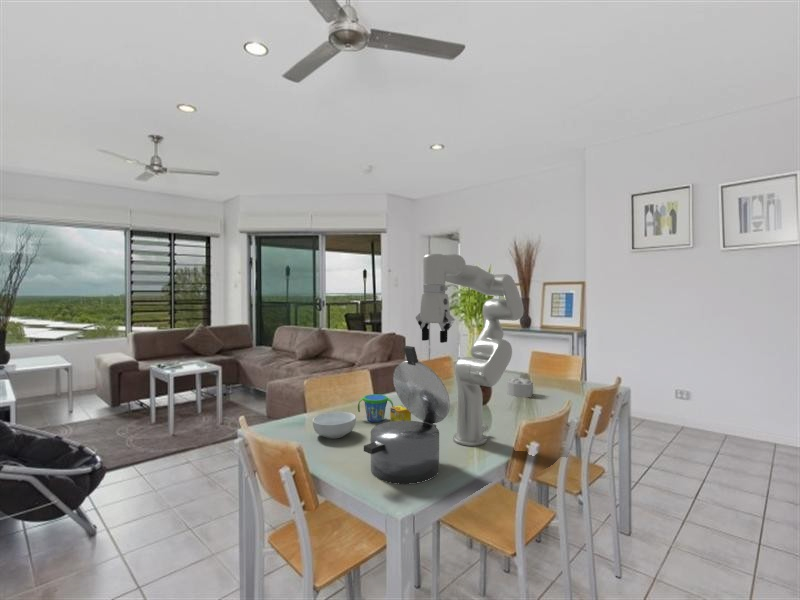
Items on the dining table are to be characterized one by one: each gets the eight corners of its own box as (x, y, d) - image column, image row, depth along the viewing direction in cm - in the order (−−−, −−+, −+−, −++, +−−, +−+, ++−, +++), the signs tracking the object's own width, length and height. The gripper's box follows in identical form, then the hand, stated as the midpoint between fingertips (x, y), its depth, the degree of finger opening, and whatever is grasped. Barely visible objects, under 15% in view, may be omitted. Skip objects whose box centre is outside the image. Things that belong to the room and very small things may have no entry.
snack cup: (395, 417, 188) (395, 394, 188) (390, 424, 178) (390, 400, 177) (361, 415, 191) (361, 393, 190) (355, 422, 180) (355, 399, 180)
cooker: (407, 448, 152) (407, 415, 151) (456, 465, 137) (456, 429, 136) (344, 473, 131) (344, 435, 131) (394, 498, 116) (394, 455, 115)
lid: (402, 416, 151) (407, 412, 152) (454, 431, 135) (459, 426, 136) (382, 344, 143) (388, 341, 144) (435, 352, 127) (440, 348, 129)
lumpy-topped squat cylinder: (529, 398, 219) (529, 382, 219) (504, 395, 225) (504, 379, 225) (534, 394, 228) (534, 378, 228) (510, 391, 234) (510, 375, 234)
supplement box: (390, 434, 166) (389, 407, 165) (401, 431, 169) (401, 404, 169) (399, 438, 161) (399, 410, 161) (411, 435, 165) (411, 407, 165)
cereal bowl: (336, 425, 177) (336, 408, 177) (364, 433, 167) (364, 416, 166) (303, 436, 164) (303, 418, 164) (332, 446, 154) (332, 427, 153)
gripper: (461, 290, 141) (461, 342, 141) (422, 289, 153) (422, 338, 153) (448, 290, 135) (448, 344, 136) (408, 290, 147) (408, 340, 148)
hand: (434, 340), depth 144 cm, fingers open, 7 cm apart
